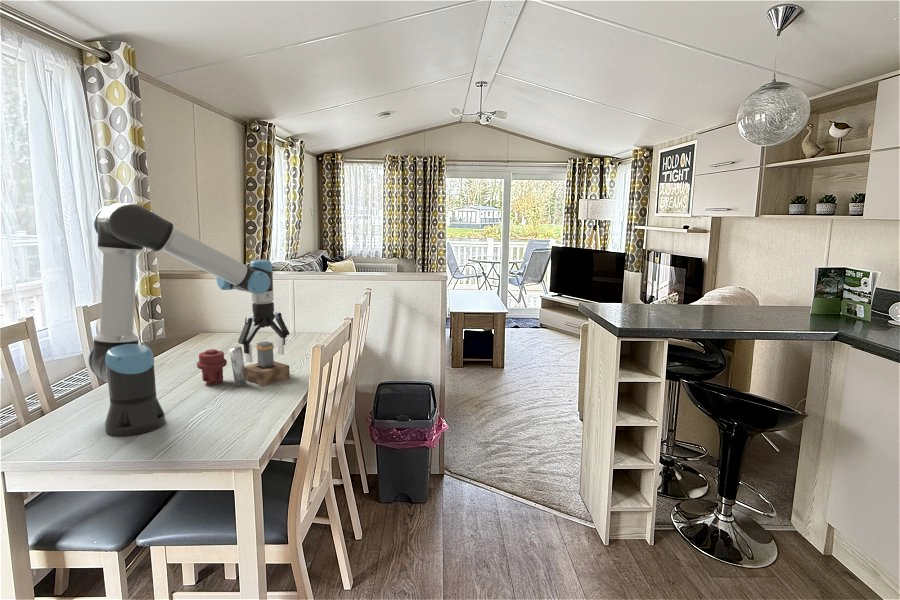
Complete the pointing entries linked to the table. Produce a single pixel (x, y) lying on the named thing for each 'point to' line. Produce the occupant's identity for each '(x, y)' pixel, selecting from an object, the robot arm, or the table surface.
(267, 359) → the square bit
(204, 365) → the mechanical component
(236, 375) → the silver metal bar
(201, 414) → the table surface
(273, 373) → the socket block
